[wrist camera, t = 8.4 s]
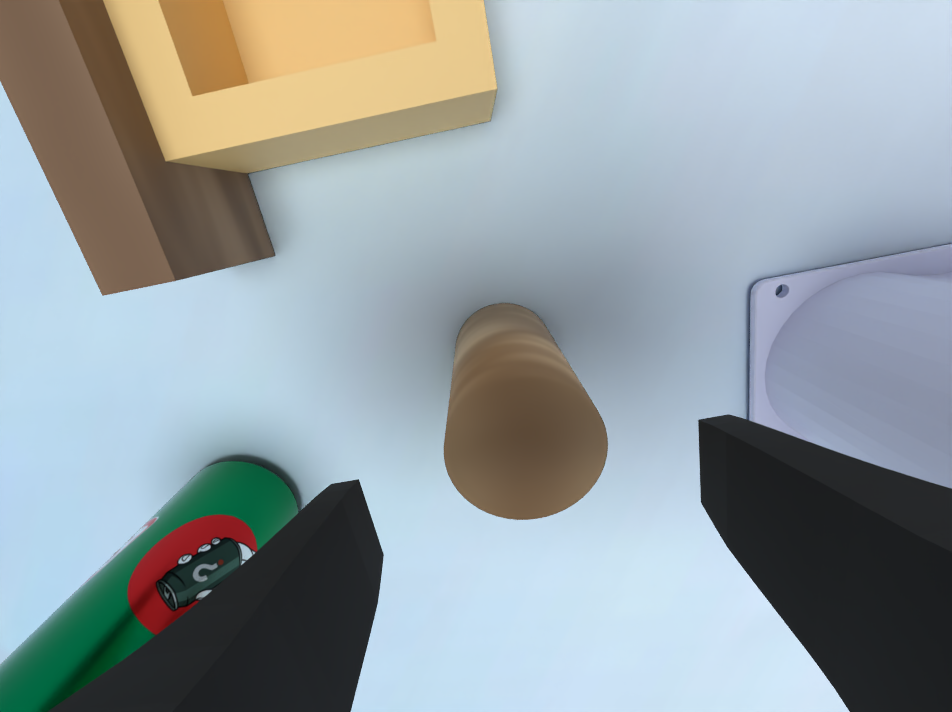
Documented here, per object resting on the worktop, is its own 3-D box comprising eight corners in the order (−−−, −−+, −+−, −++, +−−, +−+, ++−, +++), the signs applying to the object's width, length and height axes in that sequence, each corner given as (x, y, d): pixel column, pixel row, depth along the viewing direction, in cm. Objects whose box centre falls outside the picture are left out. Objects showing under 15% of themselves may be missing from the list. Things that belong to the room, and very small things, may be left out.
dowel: (543, 294, 17) (599, 361, 10) (557, 385, 19) (614, 505, 11) (446, 313, 18) (427, 392, 10) (465, 401, 19) (461, 530, 11)
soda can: (190, 446, 20) (-199, 778, 8) (305, 461, 20) (82, 801, 8) (196, 537, 21) (-123, 920, 10) (301, 549, 21) (110, 934, 10)
